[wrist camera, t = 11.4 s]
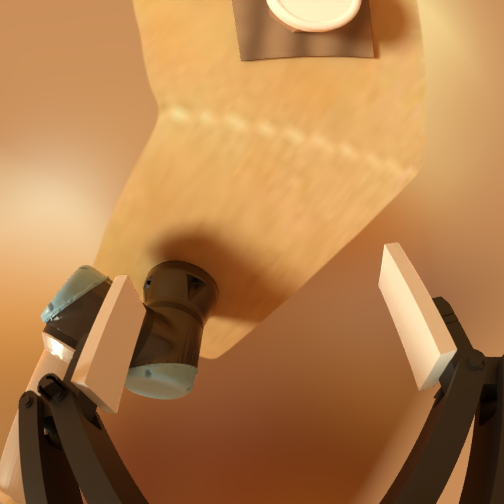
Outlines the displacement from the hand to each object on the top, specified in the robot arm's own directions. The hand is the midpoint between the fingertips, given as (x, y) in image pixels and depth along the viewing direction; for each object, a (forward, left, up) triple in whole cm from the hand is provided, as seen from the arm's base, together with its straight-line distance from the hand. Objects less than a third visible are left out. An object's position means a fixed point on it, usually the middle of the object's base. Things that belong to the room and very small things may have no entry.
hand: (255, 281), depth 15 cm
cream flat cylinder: (+8, +18, -25) cm, 31 cm away
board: (+8, +18, -32) cm, 37 cm away
